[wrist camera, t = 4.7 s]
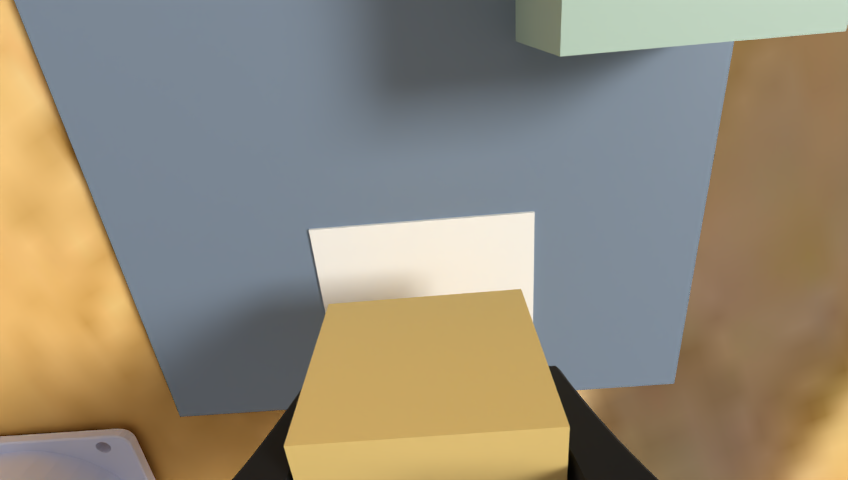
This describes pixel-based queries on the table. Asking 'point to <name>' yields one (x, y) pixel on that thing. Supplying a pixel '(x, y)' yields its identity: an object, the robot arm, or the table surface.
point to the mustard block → (429, 394)
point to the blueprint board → (380, 177)
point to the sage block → (667, 22)
